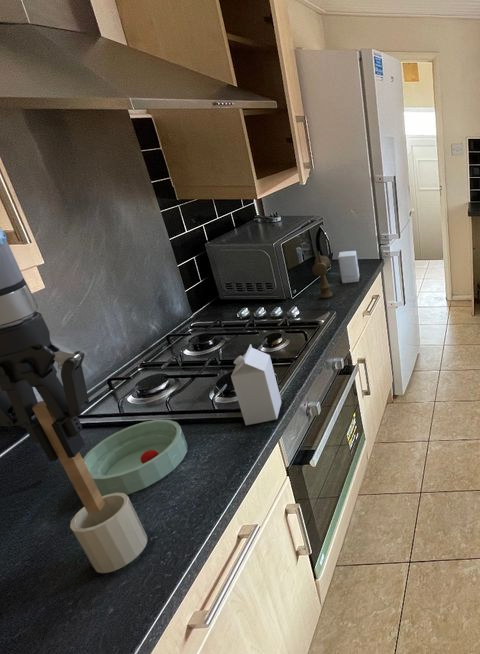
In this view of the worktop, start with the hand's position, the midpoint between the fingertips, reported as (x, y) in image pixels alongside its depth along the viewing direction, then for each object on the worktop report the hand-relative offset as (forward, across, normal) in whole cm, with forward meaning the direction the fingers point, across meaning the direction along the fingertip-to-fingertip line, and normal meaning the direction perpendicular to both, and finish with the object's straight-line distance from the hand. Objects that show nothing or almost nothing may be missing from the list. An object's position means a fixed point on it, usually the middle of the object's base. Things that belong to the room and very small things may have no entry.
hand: (67, 452), depth 65 cm
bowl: (+24, -6, +22) cm, 33 cm away
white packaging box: (+24, +34, +120) cm, 127 cm away
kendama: (+24, +25, +104) cm, 110 cm away
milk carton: (+24, +16, +33) cm, 44 cm away
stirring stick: (+12, 0, 0) cm, 12 cm away
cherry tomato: (+22, -4, +22) cm, 31 cm away
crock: (+24, 0, 0) cm, 24 cm away
